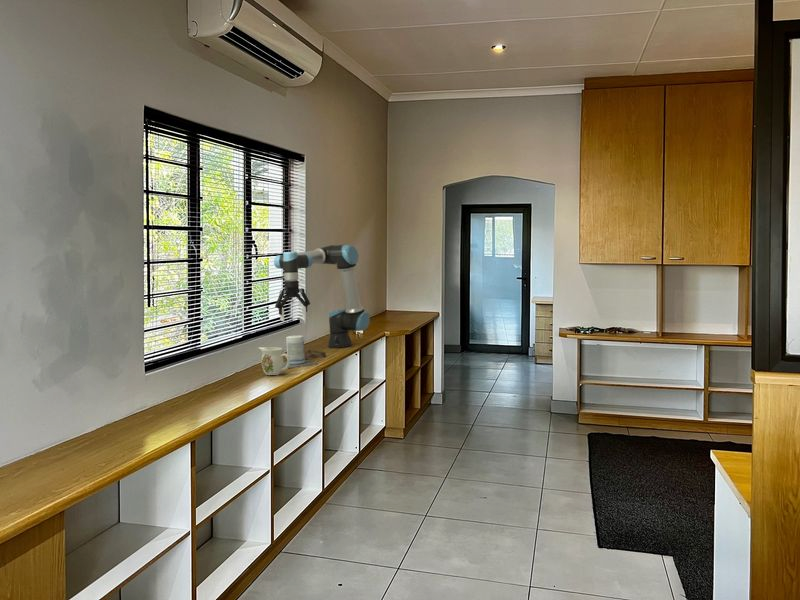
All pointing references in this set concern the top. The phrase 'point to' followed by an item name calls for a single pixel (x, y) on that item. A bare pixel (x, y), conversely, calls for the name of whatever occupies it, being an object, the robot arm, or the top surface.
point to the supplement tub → (295, 349)
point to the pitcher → (273, 360)
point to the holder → (313, 354)
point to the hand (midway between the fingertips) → (293, 319)
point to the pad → (299, 364)
